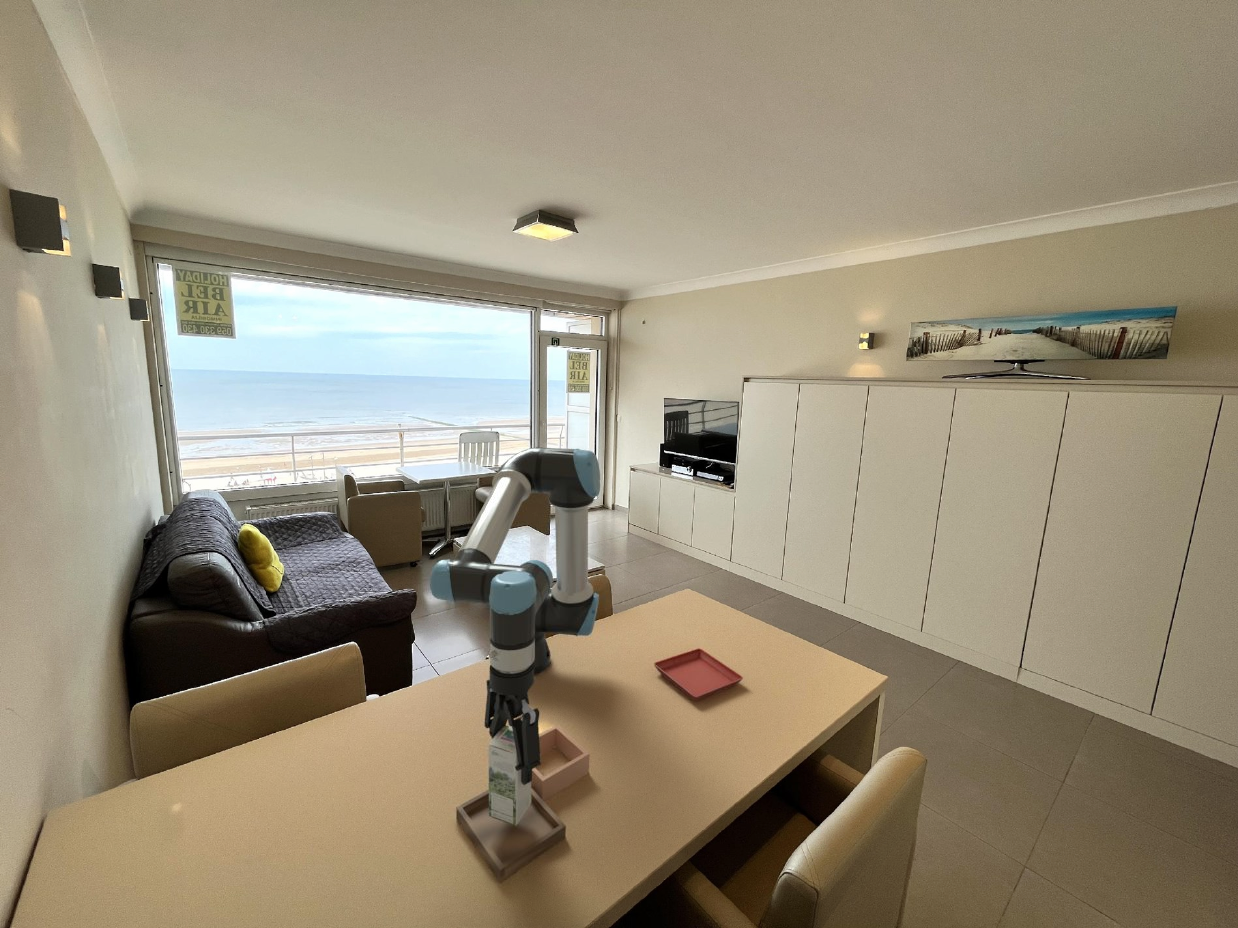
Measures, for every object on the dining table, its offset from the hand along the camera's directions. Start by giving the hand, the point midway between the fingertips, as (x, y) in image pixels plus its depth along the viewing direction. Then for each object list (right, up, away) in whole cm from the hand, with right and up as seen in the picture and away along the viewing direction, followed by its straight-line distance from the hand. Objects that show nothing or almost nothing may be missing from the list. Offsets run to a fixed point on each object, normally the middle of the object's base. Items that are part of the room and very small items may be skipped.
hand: (510, 781), depth 90 cm
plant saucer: (+41, -4, +51) cm, 66 cm away
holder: (+5, -7, +16) cm, 18 cm away
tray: (0, -9, +1) cm, 9 cm away
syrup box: (0, -6, +1) cm, 6 cm away
